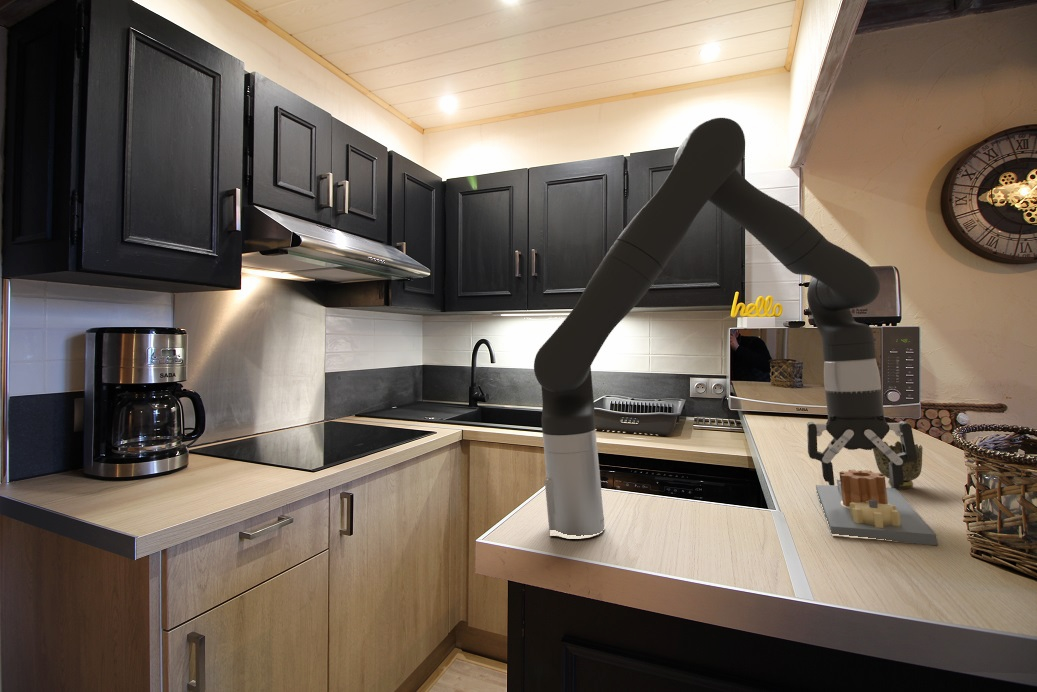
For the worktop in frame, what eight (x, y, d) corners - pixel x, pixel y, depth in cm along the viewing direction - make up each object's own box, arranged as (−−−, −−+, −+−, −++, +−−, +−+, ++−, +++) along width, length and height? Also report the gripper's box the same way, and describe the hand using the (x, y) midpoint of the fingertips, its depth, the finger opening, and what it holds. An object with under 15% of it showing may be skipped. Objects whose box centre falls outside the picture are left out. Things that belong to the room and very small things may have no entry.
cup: (881, 491, 85) (876, 448, 85) (872, 481, 92) (867, 441, 92) (933, 494, 82) (928, 449, 82) (920, 482, 88) (915, 441, 88)
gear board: (937, 545, 63) (933, 512, 63) (831, 536, 68) (828, 506, 68) (896, 496, 82) (893, 471, 82) (816, 492, 88) (814, 469, 88)
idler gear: (854, 511, 73) (851, 480, 73) (835, 499, 79) (832, 470, 79) (897, 510, 72) (893, 478, 72) (874, 498, 78) (870, 468, 78)
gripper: (803, 391, 76) (813, 490, 75) (914, 387, 69) (926, 495, 69) (800, 387, 82) (809, 477, 82) (900, 383, 76) (911, 481, 75)
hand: (862, 485), depth 75 cm, fingers open, 8 cm apart
